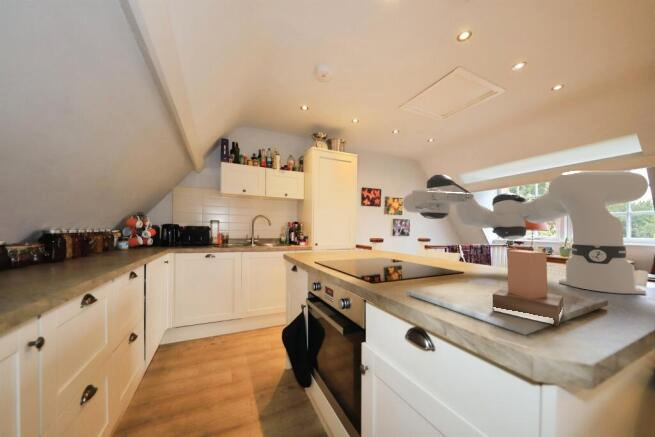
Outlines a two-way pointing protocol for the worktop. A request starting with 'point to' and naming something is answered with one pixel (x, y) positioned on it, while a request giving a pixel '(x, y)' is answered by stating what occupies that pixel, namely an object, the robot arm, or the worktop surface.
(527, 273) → the terracotta block
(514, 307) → the walnut base
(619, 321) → the worktop surface
